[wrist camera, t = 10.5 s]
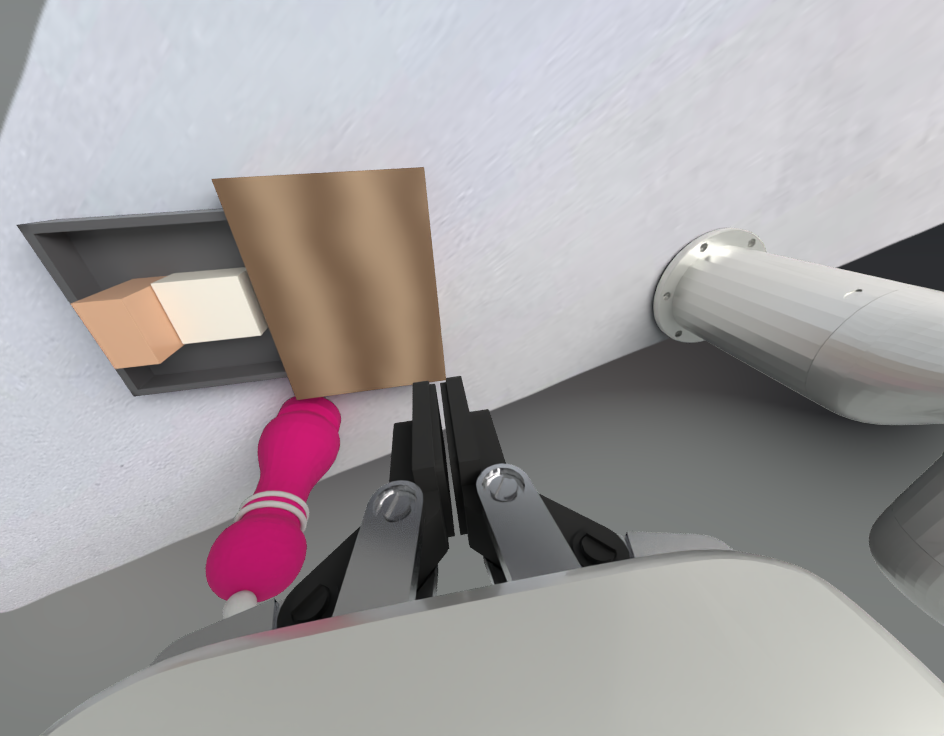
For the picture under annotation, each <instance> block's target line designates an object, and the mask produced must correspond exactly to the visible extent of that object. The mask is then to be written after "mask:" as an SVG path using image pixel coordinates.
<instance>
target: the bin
mask: <svg viewBox="0 0 944 736" xmlns="http://www.w3.org/2000/svg"><path fill="white" fill-rule="evenodd" d="M17 226H18V228H19V229H20V231H21V232H22V234H23V235H24V237H25V238H26V240H27V241H28V243H29V244H30V245H31V247H32V248H33V250H34V251H35V253H36V254H37V256H38V257H39V259H40V260H41V262H42V263H43V264H44V266H45V267H46V269H47V270H48V272H49V273H50V275H51V276H52V278H53V279H54V281H55V282H56V283H57V285H58V286H59V288H60V289H61V291H62V292H63V294H64V295H65V297H66V298H67V299H68V301H69V302H70V304H71V303H73V302H76V301H78V300H81V299H83V298H86V297H88V296H91V295H93V294H96V293H98V292H101V291H103V290H106V289H109V288H111V287H114V286H116V285H119V284H121V283H124V282H126V281H129V280H131V279H137V278H148V277H160V276H169V275H171V274H173V273H183V272H195V271H206V270H218V269H229V268H241V267H245V265H244V262H243V259H242V257H241V254H240V252H239V249H238V246H237V244H236V241H235V239H234V236H233V234H232V231H231V228H230V226H229V223H228V221H227V218H226V215H225V213H224V210H223V209H208V210H193V211H178V212H162V213H147V214H132V215H117V216H101V217H86V218H71V219H56V220H49V221H41V222H34V223H27V224H20V225H17ZM245 268H246V267H245ZM247 273H248V272H247ZM252 286H253V285H252ZM257 299H258V298H257ZM259 304H260V303H259ZM74 310H75V309H74ZM262 312H263V311H262ZM76 313H77V312H76ZM78 316H79V315H78ZM264 317H265V316H264ZM87 329H88V328H87ZM89 332H90V331H89ZM91 335H92V334H91ZM102 351H103V350H102ZM104 354H105V353H104ZM115 370H116V371H117V373H118V374H119V375H120V377H121V378H122V380H123V381H124V383H125V384H126V386H127V387H128V389H129V390H130V391H131V393H132V394H133V396H141V395H149V394H157V393H165V392H173V391H181V390H189V389H197V388H205V387H213V386H220V385H228V384H236V383H244V382H252V381H260V380H268V379H276V378H284V377H288V376H287V373H286V371H285V368H284V366H283V363H282V360H281V358H280V355H279V353H278V350H277V348H276V345H275V342H274V340H273V337H272V335H271V332H270V329H269V327H268V328H267V329H266V330H265V331H264V333H263V334H262V335H261V336H252V337H243V338H234V339H225V340H216V341H207V342H198V343H188V344H184V345H183V346H182V347H181V348H179V349H178V350H177V351H176V352H174V353H173V354H172V355H171V356H169V357H168V358H167V359H166V360H164V361H163V362H162V363H160V364H153V365H145V366H136V367H128V368H119V369H115Z"/></svg>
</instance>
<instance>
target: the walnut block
mask: <svg viewBox="0 0 944 736" xmlns="http://www.w3.org/2000/svg"><path fill="white" fill-rule="evenodd" d="M212 182H213V184H214V187H215V189H216V192H217V195H218V197H219V200H220V202H221V205H222V208H223V210H224V213H225V215H226V218H227V221H228V223H229V226H230V228H231V231H232V234H233V236H234V239H235V241H236V244H237V246H238V249H239V252H240V254H241V257H242V259H243V262H244V265H245V267H246V270H247V272H248V275H249V278H250V280H251V283H252V285H253V288H254V291H255V293H256V296H257V298H258V301H259V303H260V306H261V309H262V311H263V314H264V316H265V319H266V322H267V324H268V327H269V329H270V332H271V335H272V337H273V340H274V342H275V345H276V348H277V350H278V353H279V355H280V358H281V360H282V363H283V366H284V368H285V371H286V373H287V376H288V379H289V381H290V384H291V386H292V389H293V392H294V394H295V397H296V399H297V400H301V399H309V398H316V397H323V396H331V395H338V394H346V393H353V392H361V391H368V390H375V389H383V388H390V387H398V386H405V385H413V383H414V382H421V381H429V382H435V381H442V380H446V374H445V365H444V355H443V345H442V336H441V326H440V317H439V307H438V297H437V288H436V278H435V269H434V259H433V249H432V240H431V230H430V220H429V211H428V201H427V192H426V182H425V172H424V167H419V168H401V169H383V170H365V171H347V172H329V173H311V174H293V175H275V176H257V177H239V178H220V179H212Z"/></svg>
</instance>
